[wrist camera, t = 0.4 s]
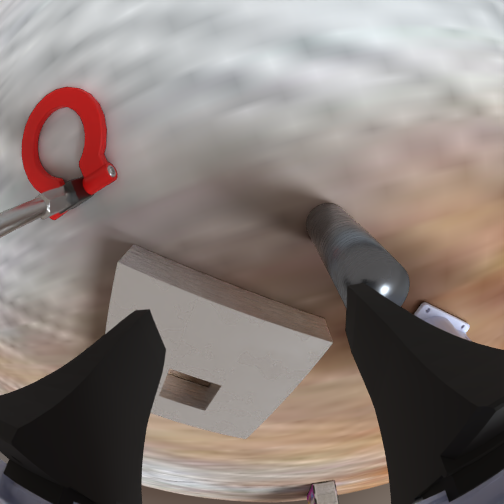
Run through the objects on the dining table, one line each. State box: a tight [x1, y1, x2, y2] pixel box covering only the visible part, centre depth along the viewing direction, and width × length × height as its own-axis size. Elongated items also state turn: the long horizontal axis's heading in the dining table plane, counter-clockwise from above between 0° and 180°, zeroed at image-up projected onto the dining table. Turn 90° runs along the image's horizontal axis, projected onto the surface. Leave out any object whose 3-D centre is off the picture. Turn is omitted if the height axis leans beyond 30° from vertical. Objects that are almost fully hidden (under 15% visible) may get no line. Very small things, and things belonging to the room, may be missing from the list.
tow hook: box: [0, 87, 117, 238], centre depth 11 cm, size 8×13×9 cm
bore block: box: [105, 245, 333, 439], centre depth 22 cm, size 16×16×3 cm
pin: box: [306, 203, 409, 309], centre depth 15 cm, size 3×3×9 cm
